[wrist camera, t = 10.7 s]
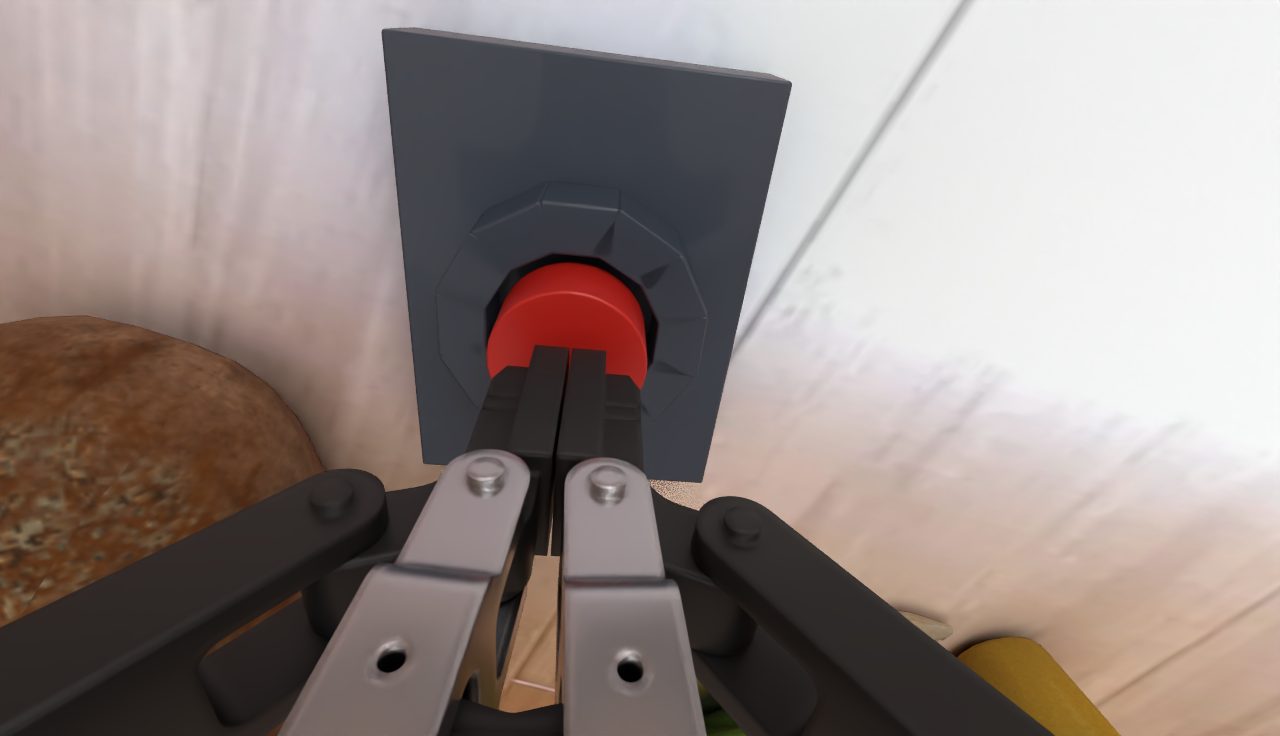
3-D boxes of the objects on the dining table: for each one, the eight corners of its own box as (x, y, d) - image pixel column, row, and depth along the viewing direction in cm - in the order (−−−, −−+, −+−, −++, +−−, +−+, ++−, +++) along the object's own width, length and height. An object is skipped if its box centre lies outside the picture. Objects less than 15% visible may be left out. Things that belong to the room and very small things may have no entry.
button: (499, 253, 13) (483, 283, 12) (653, 269, 14) (657, 299, 12) (500, 384, 15) (486, 424, 14) (636, 395, 16) (637, 435, 14)
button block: (412, 27, 14) (345, 29, 11) (771, 74, 15) (816, 90, 11) (440, 423, 20) (404, 505, 17) (694, 442, 21) (709, 524, 18)
